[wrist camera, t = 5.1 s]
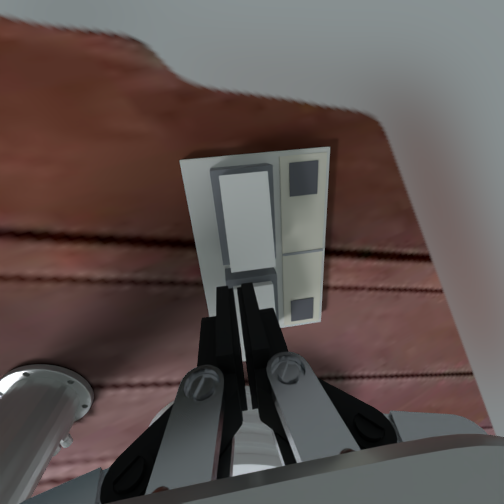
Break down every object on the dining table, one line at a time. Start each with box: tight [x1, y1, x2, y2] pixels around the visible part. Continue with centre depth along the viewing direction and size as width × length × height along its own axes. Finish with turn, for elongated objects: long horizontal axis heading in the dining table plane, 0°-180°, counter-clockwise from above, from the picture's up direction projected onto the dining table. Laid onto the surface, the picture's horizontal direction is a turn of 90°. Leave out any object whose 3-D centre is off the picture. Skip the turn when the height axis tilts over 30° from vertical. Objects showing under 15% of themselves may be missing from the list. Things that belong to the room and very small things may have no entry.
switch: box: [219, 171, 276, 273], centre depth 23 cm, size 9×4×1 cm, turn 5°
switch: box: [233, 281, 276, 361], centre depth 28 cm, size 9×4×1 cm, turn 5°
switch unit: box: [179, 147, 330, 345], centre depth 29 cm, size 24×16×4 cm, turn 4°
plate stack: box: [149, 386, 282, 476], centre depth 41 cm, size 28×28×12 cm
